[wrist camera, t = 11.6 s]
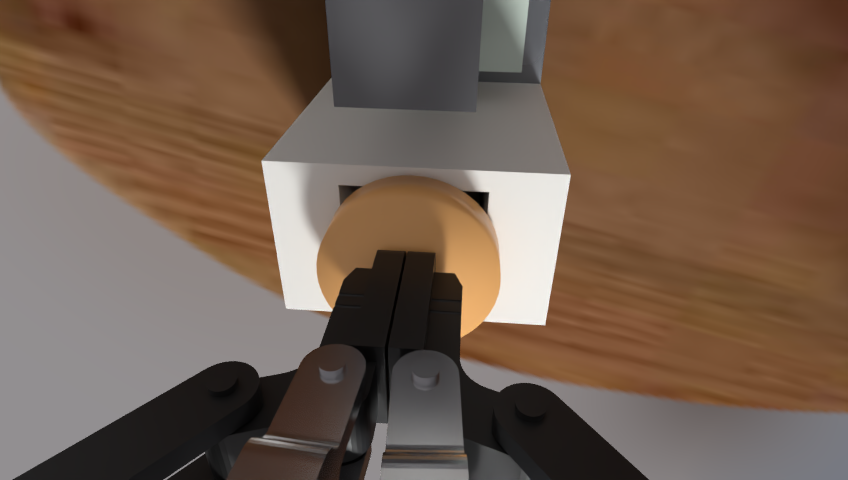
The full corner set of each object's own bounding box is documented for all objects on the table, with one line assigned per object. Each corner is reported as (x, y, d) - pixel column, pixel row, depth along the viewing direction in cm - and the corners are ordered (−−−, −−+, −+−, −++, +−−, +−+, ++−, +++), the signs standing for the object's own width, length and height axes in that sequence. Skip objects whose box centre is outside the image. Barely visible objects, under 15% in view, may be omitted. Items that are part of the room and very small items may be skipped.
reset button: (361, 100, 19) (307, 192, 13) (499, 105, 18) (509, 202, 12) (367, 219, 21) (324, 341, 15) (489, 225, 21) (493, 353, 15)
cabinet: (331, 76, 21) (261, 160, 14) (540, 83, 20) (571, 174, 14) (341, 191, 23) (286, 308, 17) (525, 200, 23) (545, 325, 16)
